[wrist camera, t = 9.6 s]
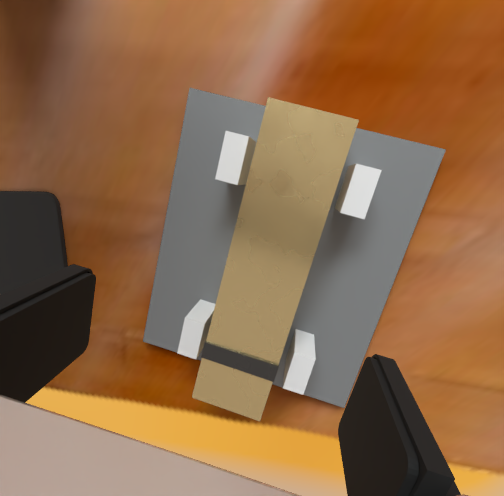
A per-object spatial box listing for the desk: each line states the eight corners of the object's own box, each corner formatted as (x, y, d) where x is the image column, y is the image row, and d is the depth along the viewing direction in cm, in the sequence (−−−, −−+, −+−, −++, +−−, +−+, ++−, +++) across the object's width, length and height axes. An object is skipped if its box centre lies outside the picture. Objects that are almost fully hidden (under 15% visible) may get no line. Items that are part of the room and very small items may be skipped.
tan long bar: (275, 115, 22) (266, 96, 17) (347, 133, 21) (360, 119, 16) (211, 357, 27) (190, 398, 22) (268, 377, 26) (260, 423, 21)
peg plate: (148, 335, 28) (120, 363, 24) (194, 91, 23) (169, 71, 19) (342, 399, 27) (350, 442, 22) (439, 150, 22) (473, 143, 17)
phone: (55, 191, 27) (75, 352, 30) (62, 191, 27) (81, 348, 30) (-19, 191, 28) (7, 345, 31) (-10, 190, 29) (15, 341, 32)
